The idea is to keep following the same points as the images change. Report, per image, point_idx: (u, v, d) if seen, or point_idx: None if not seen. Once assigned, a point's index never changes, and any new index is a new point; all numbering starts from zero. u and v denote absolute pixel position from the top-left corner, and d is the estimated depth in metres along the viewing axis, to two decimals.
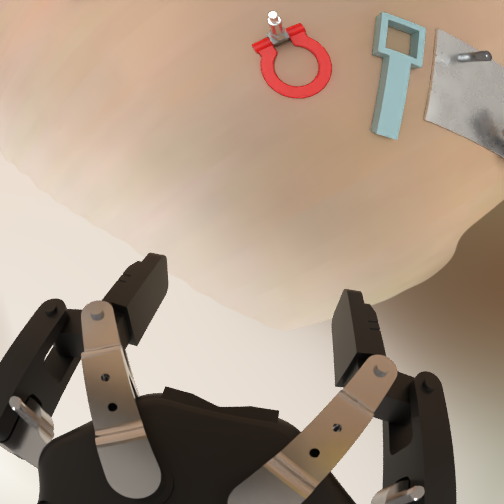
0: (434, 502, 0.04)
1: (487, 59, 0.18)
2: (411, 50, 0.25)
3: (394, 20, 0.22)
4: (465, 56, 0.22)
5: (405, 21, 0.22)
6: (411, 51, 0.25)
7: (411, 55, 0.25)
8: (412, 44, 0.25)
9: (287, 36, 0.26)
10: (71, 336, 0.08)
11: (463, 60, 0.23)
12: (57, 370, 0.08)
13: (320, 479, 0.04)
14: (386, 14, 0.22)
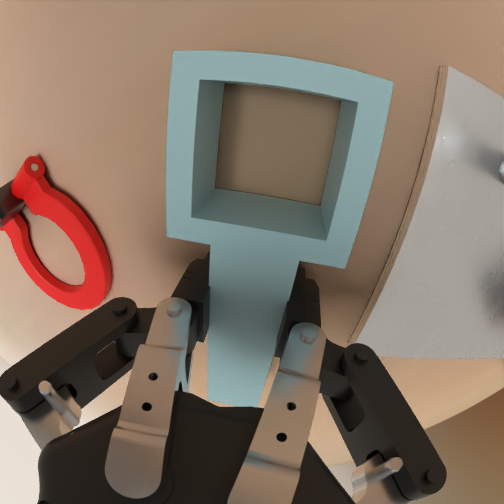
0: (417, 465, 0.05)
1: None
2: (330, 172, 0.10)
3: (228, 75, 0.07)
4: None
5: (286, 65, 0.06)
6: (329, 178, 0.10)
7: (325, 196, 0.10)
8: (336, 149, 0.09)
9: (3, 214, 0.11)
10: (143, 336, 0.09)
11: None
12: (109, 367, 0.09)
13: (300, 459, 0.05)
14: (193, 56, 0.06)
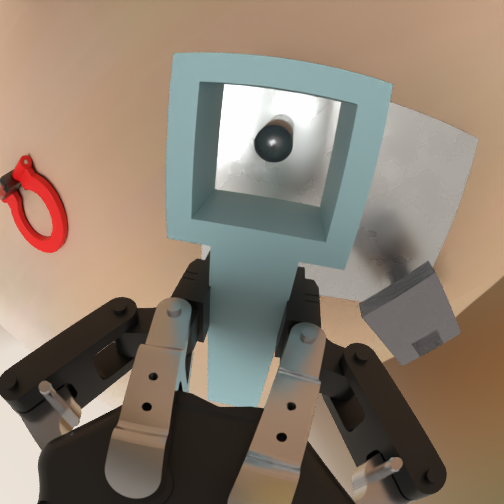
0: (417, 465, 0.05)
1: (270, 158, 0.10)
2: (329, 173, 0.10)
3: (228, 77, 0.07)
4: None
5: (285, 67, 0.06)
6: (328, 179, 0.10)
7: (325, 198, 0.10)
8: (335, 150, 0.09)
9: (7, 189, 0.19)
10: (143, 336, 0.09)
11: None
12: (109, 367, 0.09)
13: (300, 459, 0.05)
14: (193, 58, 0.06)
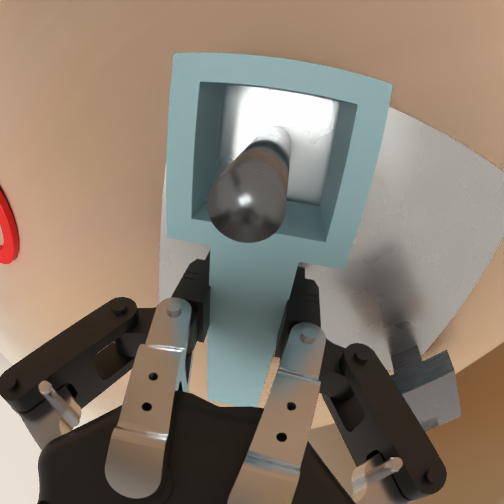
0: (417, 465, 0.05)
1: (238, 234, 0.05)
2: (330, 173, 0.10)
3: (228, 78, 0.07)
4: None
5: (286, 67, 0.06)
6: (328, 179, 0.10)
7: (325, 198, 0.10)
8: (335, 150, 0.09)
9: None
10: (143, 336, 0.09)
11: None
12: (109, 367, 0.09)
13: (300, 459, 0.05)
14: (194, 58, 0.06)
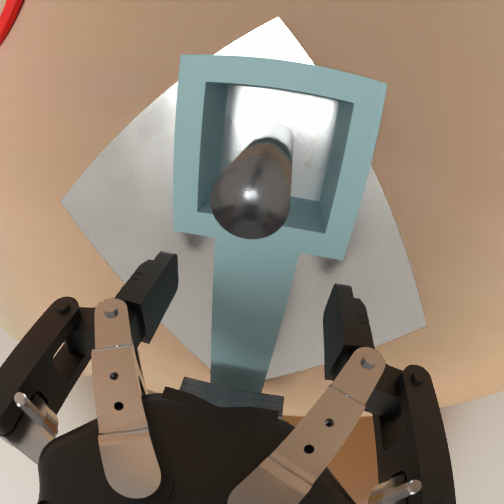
0: (432, 494, 0.04)
1: (222, 216, 0.05)
2: (328, 169, 0.10)
3: (233, 78, 0.07)
4: (256, 137, 0.09)
5: (286, 68, 0.07)
6: (327, 175, 0.10)
7: (324, 192, 0.11)
8: (334, 147, 0.10)
9: None
10: (84, 334, 0.08)
11: None
12: (67, 368, 0.08)
13: (317, 475, 0.04)
14: (200, 60, 0.07)
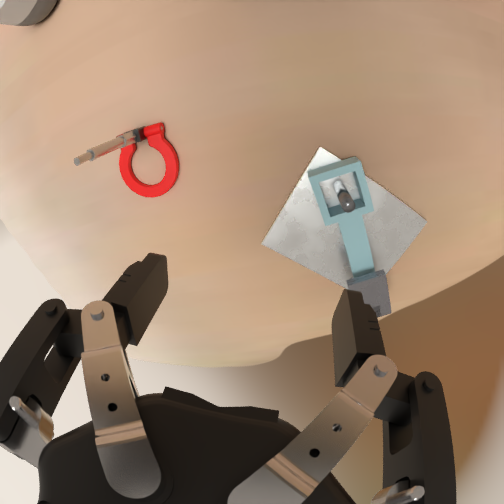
0: (434, 502, 0.04)
1: (345, 210, 0.27)
2: (357, 187, 0.32)
3: (325, 179, 0.30)
4: (336, 190, 0.31)
5: (336, 170, 0.29)
6: (358, 189, 0.32)
7: (360, 194, 0.32)
8: (356, 180, 0.31)
9: (139, 140, 0.31)
10: (71, 336, 0.08)
11: None
12: (57, 370, 0.08)
13: (320, 479, 0.04)
14: (314, 177, 0.30)
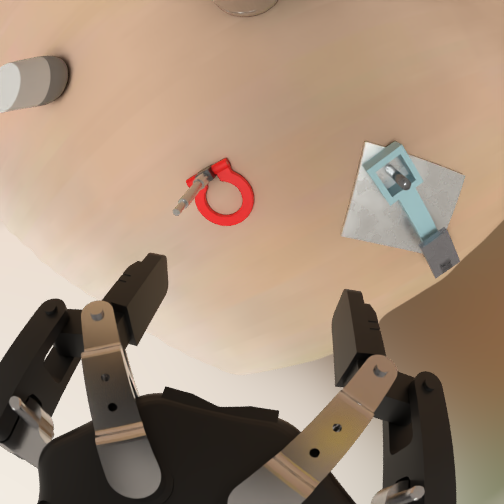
0: (434, 502, 0.04)
1: (404, 189, 0.30)
2: (404, 165, 0.34)
3: (379, 167, 0.33)
4: (389, 173, 0.34)
5: (386, 158, 0.32)
6: (405, 167, 0.34)
7: (408, 171, 0.34)
8: (401, 161, 0.34)
9: (211, 178, 0.39)
10: (71, 336, 0.08)
11: (389, 175, 0.35)
12: (58, 370, 0.08)
13: (320, 479, 0.04)
14: (371, 169, 0.33)
